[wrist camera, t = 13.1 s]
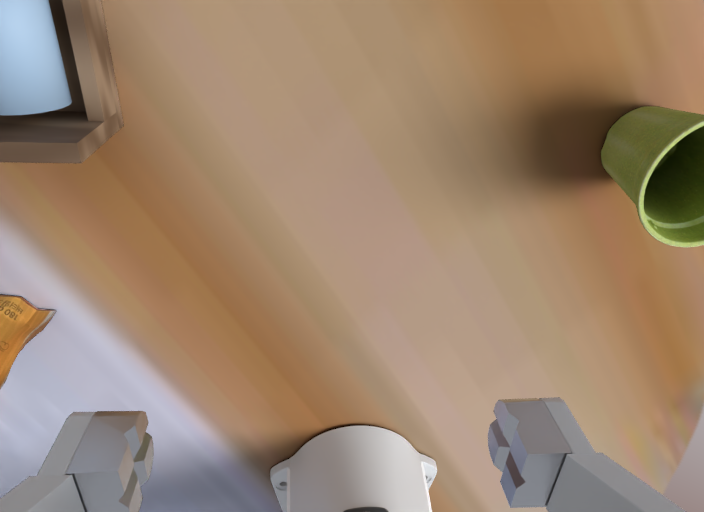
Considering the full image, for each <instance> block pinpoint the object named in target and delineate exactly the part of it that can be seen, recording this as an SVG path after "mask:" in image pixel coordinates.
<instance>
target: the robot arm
mask: <svg viewBox="0 0 704 512" xmlns="http://www.w3.org/2000/svg"><path fill="white" fill-rule="evenodd" d="M494 414H495V416H496V418H497V419H496V420H495V421H494V422H492V423H491V424H490V427H489V432H488V447H489V451H490V456H491V458H492V461H493V464H494V465H495V466H496V467H497V468H498V469H499V470H501V471H502V472H503V474H502V477H501V481H500V482H501V485H502V488H503V490H504V493H505V495H506V498H507V500H508V503H509V505H510V508H518V507H546V509H547V510H548V511H549V512H686V511H685V510H683V509H682V508H680V507H679V506H678V505H676V504H675V503H673V502H672V501H670V500H669V499H667V498H666V497H665V496H663V495H662V494H660V493H659V492H658V491H656V490H655V489H653V488H652V487H650V486H649V485H647V484H646V483H645V482H643V481H642V480H640V479H639V478H637V477H636V476H635V475H633V474H632V473H630V472H629V471H627V470H626V469H625V468H623V467H622V466H620V465H619V464H617V463H616V462H614V461H613V460H612V459H610V458H609V457H607V456H606V455H604V454H603V453H596V452H595V451H594V449H593V448H592V446H591V444H590V443H589V441H588V439H587V438H586V436H585V434H584V433H583V431H582V430H581V428H580V426H579V425H578V423H577V421H576V420H575V418H574V416H573V415H572V413H571V411H570V410H569V408H568V407H567V405H566V403H565V402H564V400H562V399H561V398H560V397H558V398H539V399H538V398H529V399H505V400H498V401H497V403H496V404H495V408H494ZM147 425H148V419H147V416H146V412H143V411H97V412H73V413H72V414H71V415H70V416H69V417H68V418H67V419H66V421H65V423H64V425H63V427H62V429H61V431H60V433H59V434H58V436H57V438H56V440H55V442H54V444H53V446H52V448H51V450H50V452H49V453H48V455H47V457H46V459H45V461H44V463H43V465H42V467H41V469H40V471H39V473H38V474H37V476H29V477H28V478H27V479H25V480H24V481H23V482H21V483H20V484H19V485H18V486H16V487H15V488H14V489H12V490H11V491H10V492H8V493H7V494H6V495H4V496H3V497H2V498H1V499H0V512H139V509H140V506H141V503H142V499H143V497H142V493H141V489H140V487H141V486H142V485H143V484H144V483H145V482H147V481H148V479H149V476H150V472H151V469H152V462H153V441H152V436H150V435H149V434H148V433H146V432H145V431H146V428H147ZM436 473H437V466H436V462H435V461H434V460H433V459H431V458H429V457H427V456H425V455H423V454H420V453H418V452H417V451H416V450H415V449H414V448H413V447H412V445H411V444H410V443H409V442H408V441H407V440H406V439H405V438H403V437H402V436H400V435H399V434H397V433H395V432H392V431H390V430H387V429H384V428H379V427H374V426H348V427H342V428H337V429H334V430H330V431H328V432H325V433H323V434H320V435H318V436H316V437H315V438H313V439H311V440H310V441H309V442H307V443H306V444H305V445H304V446H302V447H301V448H300V450H299V451H298V452H297V453H296V454H295V455H294V456H292V457H291V458H289V459H287V460H285V461H283V462H281V463H279V464H277V465H275V466H274V467H273V468H272V469H271V471H270V478H271V482H272V485H273V488H274V491H275V493H276V496H277V499H278V501H279V504H280V507H281V509H282V512H432V509H431V504H430V498H429V493H428V490H429V488H430V486H431V484H432V482H433V480H434V478H435V476H436Z"/></svg>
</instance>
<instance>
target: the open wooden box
mask: <svg viewBox="0 0 704 512" xmlns="http://www.w3.org/2000/svg"><path fill="white" fill-rule="evenodd" d="M49 4H50V9H51V13H52V17H53V22H54V26H55V30H56V35H57V39H58V43H59V48H60V52H61V56H62V61H63V65H64V69H65V74H66V78H67V82H68V87H69V91H70V95H71V100H72V103H71V104H70V105H69V106H66V107H64V108H61V109H58V110H54V111H49V112H43V113H36V114H27V115H0V162H23V163H82V162H84V161H85V160H86V159H87V158H88V157H89V156H90V155H91V154H93V153H94V152H95V151H96V150H97V149H98V148H99V147H100V146H102V145H103V144H104V143H105V142H106V141H107V140H108V139H109V138H111V137H112V136H113V135H114V134H115V133H116V132H117V131H118V130H119V129H121V128H122V127H123V126H124V124H123V118H122V113H121V107H120V102H119V96H118V91H117V85H116V80H115V75H114V69H113V64H112V58H111V53H110V47H109V42H108V36H107V31H106V25H105V20H104V14H103V9H102V3H101V0H49Z"/></svg>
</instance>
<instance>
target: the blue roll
mask: <svg viewBox="0 0 704 512" xmlns="http://www.w3.org/2000/svg"><path fill="white" fill-rule="evenodd" d="M71 103H72V100H71V95H70V91H69V87H68V82H67V78H66V74H65V69H64V65H63V61H62V56H61V52H60V48H59V43H58V39H57V35H56V30H55V26H54V22H53V17H52V13H51V9H50V4H49V0H0V115H27V114H36V113H43V112H49V111H54V110H58V109H61V108H64V107H66V106H69V105H70V104H71Z"/></svg>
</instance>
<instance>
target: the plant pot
mask: <svg viewBox="0 0 704 512" xmlns="http://www.w3.org/2000/svg"><path fill="white" fill-rule="evenodd" d="M601 161H602V164H603V167H604V169H605V170H606V171H607V173H608V174H609V175H610V176H611V177H612V178H613V180H614V181H615V182H616V183H617V184H618V185H619V186H620V187H621V188H622V189H623V190H624V192H625V193H626V194H627V195H628V196H629V197H630V199H631V200H632V201H633V202H634V203H635V204H636V207H637V211H638V216H639V219H640V221H641V223H642V225H643V226H644V228H645V229H646V230H647V232H648V233H649V234H650V235H652V236H653V237H654V238H655V239H657V240H659V241H660V242H662V243H665V244H668V245H671V246H678V247H695V246H701V245H704V115H702V114H696V113H690V112H685V111H679V110H673V109H668V108H663V107H657V106H646V107H641V108H637V109H635V110H632V111H630V112H629V113H627V114H625V115H624V116H622V117H621V118H620V119H619V120H618V121H617V122H616V123H615V124H614V125H613V126H612V127H611V128H610V130H609V131H608V133H607V137H606V140H605V143H604V146H603V148H602V150H601Z"/></svg>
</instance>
